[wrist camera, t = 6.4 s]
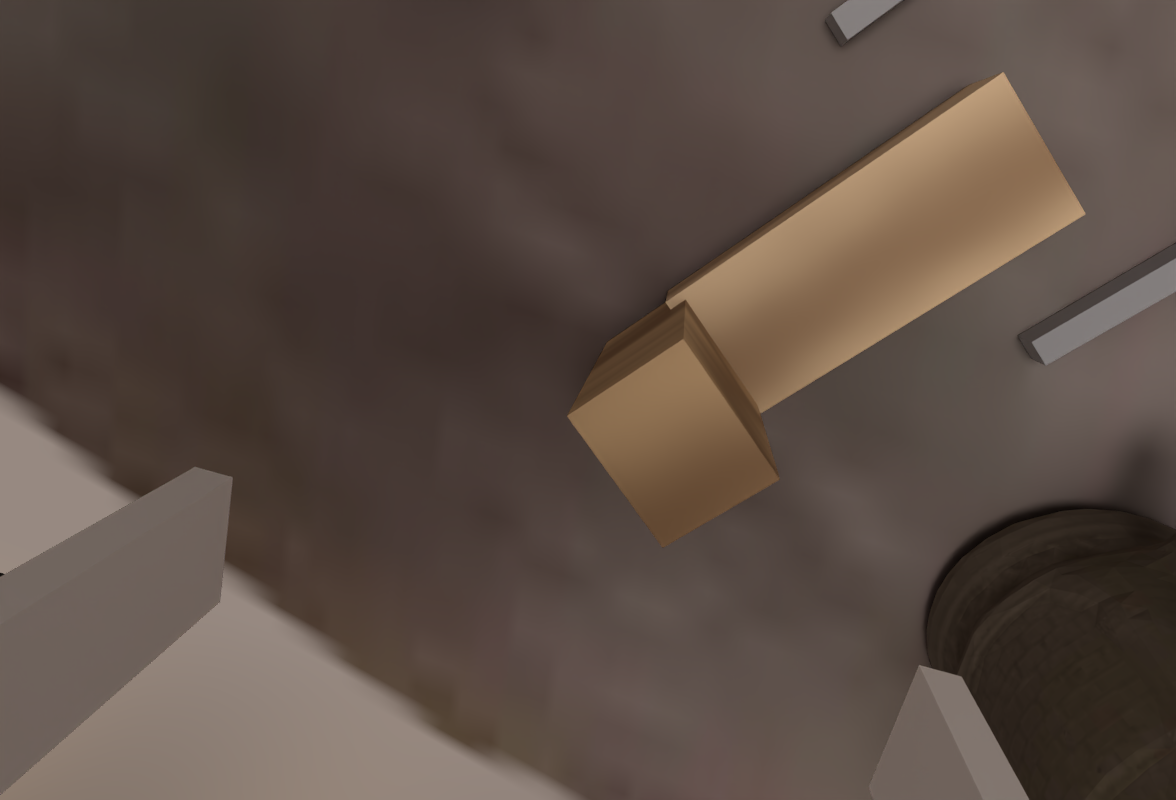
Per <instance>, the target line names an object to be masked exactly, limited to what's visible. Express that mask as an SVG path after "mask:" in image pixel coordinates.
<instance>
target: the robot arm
mask: <svg viewBox="0 0 1176 800" xmlns="http://www.w3.org/2000/svg"><path fill="white" fill-rule="evenodd" d="M232 480H233V477H230V476H226V475H223V474H219V473H215V472H212V471H208V470H204V469H201V468H197V467H194V468H192V469H191V470H189V471H187V472H185V473H183V474H182V475H180V476H178V477H176V478H175V479H173V480H171V481H169V482H167V483H166V484H164V485H162V486H160V487H159V488H157V489H155V490H153V491H152V492H150V493H148V494H146V495H144V496H143V497H141V498H139V499H137V500H136V501H134V502H132V503H130V504H128V505H127V506H125V507H123V508H121V509H120V510H118V511H116V512H114V513H113V514H111V515H109V516H107V517H106V518H104V519H102V520H100V521H98V522H97V523H95V524H93V525H91V526H90V527H88V528H86V529H84V530H83V531H81V532H79V533H77V534H75V535H74V536H72V537H70V538H68V539H66V540H65V541H63V542H61V543H59V544H58V545H56V546H54V547H52V548H50V549H49V550H47V551H45V552H43V553H42V554H40V555H38V556H36V557H35V558H33V559H31V560H29V561H28V562H26V563H24V564H22V565H20V566H19V567H17V568H15V569H13V570H12V571H10V572H8V573H6V574H3V573H0V795H1V794H2V793H3V792H4V791H6V789H8V788H9V787H10V786H11V785H12V784H13V783H15V782H16V781H17V780H18V779H19V778H20V777H21V776H23V775H24V774H25V773H26V772H27V771H28V770H29V769H31V768H32V767H33V766H34V765H35V764H36V763H37V762H39V761H40V760H41V759H42V758H43V757H44V756H45V755H47V753H49V752H50V751H51V750H52V749H53V748H54V747H56V746H57V745H58V744H59V743H60V742H61V741H62V740H64V739H65V738H66V737H67V736H68V735H69V734H70V733H72V732H73V731H74V730H75V729H76V728H77V727H78V726H79V725H81V724H82V723H83V722H84V721H85V720H86V719H87V718H89V717H90V716H91V715H92V714H93V713H94V712H95V711H96V710H98V709H99V708H100V707H101V706H102V705H103V704H104V703H105V702H106V701H108V700H109V699H110V698H111V697H112V696H114V695H115V694H116V693H117V692H118V691H119V690H120V689H121V688H123V687H124V686H125V685H126V684H127V683H128V682H129V681H131V680H132V679H133V678H134V677H135V676H136V675H137V674H139V672H141V671H142V670H143V669H144V668H145V667H146V666H147V665H149V664H150V663H151V662H152V661H153V660H154V659H156V658H157V657H158V656H159V655H160V654H161V653H162V652H164V651H165V650H166V649H167V648H168V647H169V646H170V645H172V644H173V643H174V642H175V641H176V640H177V639H178V638H179V637H181V636H182V635H183V634H184V633H185V632H186V631H187V630H189V629H190V628H191V627H192V626H193V625H194V624H195V623H196V622H197V621H199V620H200V619H201V618H202V617H203V616H204V615H206V614H207V613H208V612H209V611H210V610H211V609H212V608H214V607H215V606H216V605H217V604H218V603H219V602H220V597H221V587H222V578H223V568H224V558H225V548H226V539H227V529H228V519H229V509H230V500H231V490H232ZM869 789H870V792H871V795H872V799H873V800H1029V798H1028V796H1027V795H1026V793H1025V791H1024V789H1023V787H1022V786H1021V784H1020V782H1019V780H1018V778H1017V776H1016V775H1015V773H1014V771H1013V769H1012V767H1011V766H1010V764H1009V762H1008V760H1007V758H1006V756H1005V755H1004V753H1003V751H1002V749H1001V747H1000V746H999V744H998V742H997V740H996V738H995V736H994V735H993V733H992V731H991V729H990V727H989V726H988V724H987V722H986V720H985V718H984V716H983V715H982V713H981V711H980V709H979V707H978V706H977V704H976V702H975V700H974V698H973V697H972V695H971V693H970V691H969V689H968V687H967V686H966V684H965V682H964V680H963V678H962V677H961V676H957V675H954V674H950V673H946V672H943V671H939V670H936V669H932V668H928V667H925V666H921V665H919V666H918V669H917V671H916V674H915V676H914V678H913V681H912V683H911V686H910V688H909V691H908V693H907V695H906V698H905V700H904V703H903V705H902V707H901V710H900V712H899V715H898V717H897V719H896V722H895V724H894V727H893V729H892V731H891V734H890V736H889V739H888V741H887V744H886V746H885V748H884V751H883V753H882V756H881V758H880V760H879V763H878V765H877V768H876V770H875V772H874V775H873V777H872V780H871V782H870V784H869Z"/></svg>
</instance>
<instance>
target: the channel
mask: <svg viewBox="0 0 1176 800" xmlns="http://www.w3.org/2000/svg"><path fill="white" fill-rule="evenodd" d="M902 1H904V0H848V1H846V2H845V3H844V4H842V5H841V6H840V7H838V8H837V9H836V10H834V11H833V12H832V13H831V14H830V15H829V16H828V17H827V19H826V20H825V21H826V23H827V25H828V26H829V28H830V29H831V31H832V33H833V34H834V36H835V38H836V39H837V41H838V43H839V44H840V46H842V45H843V44H845V43H846V42H848V41H849V40H850V39H852V38H853V37H854V36H856V35H857V34H858V33H860V32H861V31H863V30H864V29H865V28H867V27H868V26H869V25H871V24H872V23H873V22H875V21H876V20H878V19H879V18H880V17H882V16H883V15H884V14H886V13H887V12H889V11H890V10H891V9H893V8H894V7H895V6H897V5H898V4H899V3H901V2H902ZM1174 292H1176V243H1175V244H1173V245H1172V246H1170V247H1168V248H1166V249H1165V250H1163V251H1161V252H1160V253H1158V254H1156V255H1155V256H1153V257H1151V258H1149V259H1148V260H1146V261H1144V262H1143V263H1141V264H1139V265H1137V266H1136V267H1134V268H1132V269H1131V270H1129V271H1127V272H1126V273H1124V274H1122V275H1120V276H1119V277H1117V278H1115V279H1114V280H1112V281H1110V282H1108V283H1107V284H1105V285H1103V286H1102V287H1100V288H1098V289H1097V290H1095V291H1093V292H1091V293H1090V294H1088V295H1086V296H1085V297H1083V298H1081V299H1079V300H1078V301H1076V302H1074V303H1073V304H1071V305H1069V306H1068V307H1066V308H1064V309H1062V310H1061V311H1059V312H1057V313H1056V314H1054V315H1052V316H1050V317H1049V318H1047V319H1045V320H1044V321H1042V322H1040V323H1039V324H1037V325H1035V326H1033V327H1032V328H1030V329H1028V330H1027V331H1025V332H1023V333H1021V334H1020V335H1018V337H1019V339H1020V340H1021V342H1022V344H1023V345H1024V347H1025V349H1026V350H1027V352H1028V354H1029V355H1030V357H1031V358H1032V359H1034V360H1036V361H1038V362H1040V363H1042V364H1044V365H1048V364H1049V363H1051V362H1053V361H1055V360H1056V359H1058V358H1060V357H1062V356H1063V355H1065V354H1067V353H1069V352H1070V351H1072V350H1074V349H1076V348H1078V347H1079V346H1081V345H1083V344H1085V343H1086V342H1088V341H1090V340H1092V339H1093V338H1095V337H1097V336H1099V335H1100V334H1102V333H1104V332H1106V331H1107V330H1109V329H1111V328H1113V327H1114V326H1116V325H1118V324H1120V323H1121V322H1123V321H1125V320H1127V319H1128V318H1130V317H1132V316H1134V315H1135V314H1137V313H1139V312H1141V311H1142V310H1144V309H1146V308H1148V307H1149V306H1151V305H1153V304H1155V303H1156V302H1158V301H1160V300H1162V299H1163V298H1165V297H1167V296H1169V295H1170V294H1172V293H1174Z"/></svg>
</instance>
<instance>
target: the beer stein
mask: <svg viewBox="0 0 1176 800" xmlns="http://www.w3.org/2000/svg"><path fill="white" fill-rule="evenodd" d="M926 632H927V650H928V656H929V660H930V663H931V666H932V669H936V670H939V671H943V672H946V673H950V674H954V675H957V676H961V677H962V678H963V680H964V682H965V684H966V686H967V687H968V689H969V691H970V693H971V695H972V697H973V698H974V700H975V702H976V704H977V706H978V707H979V709H980V711H981V713H982V715H983V716H984V718H985V720H986V722H987V724H988V726H989V727H990V729H991V731H992V733H993V735H994V736H995V738H996V740H997V742H998V744H999V746H1000V747H1001V749H1002V751H1003V753H1004V755H1005V756H1006V758H1007V760H1008V762H1009V764H1010V766H1011V767H1012V769H1013V771H1014V773H1015V775H1016V776H1017V778H1018V780H1019V782H1020V784H1021V786H1022V787H1023V789H1024V791H1025V793H1026V795H1027V796H1028V798H1029V800H1176V530H1175V529H1173V528H1171V527H1168V526H1166V525H1164V524H1161V523H1159V522H1157V521H1154V520H1152V519H1149V518H1145V517H1141V516H1137V515H1133V514H1130V513H1126V512H1122V511H1112V510H1098V509H1078V510H1068V511H1060V512H1056V513H1052V514H1048V515H1044V516H1040V517H1036V518H1033V519H1029V520H1025V521H1021V522H1018V523H1015V524H1012V525H1010V526H1008V527H1007V528H1005V529H1003V530H1001V531H999V532H998V533H996V534H994V535H992V536H990V537H988V538H987V539H985V540H984V541H983V542H981V543H980V544H979V545H978V546H976V547H975V548H974V549H972V550H971V551H970V552H969V553H967V554H966V555H965V556H964V557H962V558H961V559H960V561H959V562H958V563H957V564H956V565H955V566H954V567H953V569H952V570H951V571H950V572H949V573H948V575H947V576H946V578H945V579H944V581H943V582H942V584H941V586H940V587H939V589H938V590H937V593H936V596H935V599H934V602H933V604H932V607H931V610H930V614H929V619H928V625H927V631H926Z"/></svg>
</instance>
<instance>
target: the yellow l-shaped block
mask: <svg viewBox="0 0 1176 800" xmlns="http://www.w3.org/2000/svg"><path fill="white" fill-rule="evenodd" d="M1083 215H1085V212H1084V210H1083V209H1082V207H1081V205H1080V203H1079V202H1078V200H1077V198H1076V197H1075V195H1074V193H1073V191H1072V190H1071V188H1070V186H1069V184H1068V183H1067V181H1066V179H1065V178H1064V176H1063V174H1062V172H1061V171H1060V169H1059V167H1058V165H1057V164H1056V162H1055V160H1054V159H1053V157H1052V155H1051V153H1050V152H1049V150H1048V148H1047V146H1046V145H1045V143H1044V141H1043V140H1042V138H1041V136H1040V134H1039V133H1038V131H1037V129H1036V128H1035V126H1034V124H1033V122H1032V121H1031V119H1030V117H1029V115H1028V114H1027V112H1026V110H1025V109H1024V107H1023V105H1022V103H1021V102H1020V100H1019V98H1018V96H1017V95H1016V93H1015V91H1014V90H1013V88H1012V86H1011V84H1010V83H1009V81H1008V79H1007V77H1006V76H1005V74H1004V72H1003V73H1000V74H997V75H994V76H992V77H989V78H986V79H984V80H981V81H978V82H975V83H973V84H970V85H968V86H966V87H965V88H964V89H962V90H961V91H959V92H958V93H956V94H955V95H953V96H952V97H950V98H949V99H947V100H946V101H945V102H943V103H942V104H940V105H939V106H937V107H936V108H934V109H933V110H931V111H930V112H928V113H927V114H926V115H924V116H923V117H921V118H920V119H918V120H917V121H915V122H914V123H912V124H911V125H909V126H908V127H907V128H905V129H904V130H902V131H901V132H899V133H898V134H896V135H895V136H893V137H892V138H890V139H889V140H888V141H886V142H885V143H883V144H882V145H880V146H879V147H877V148H876V149H874V150H873V151H872V152H870V153H869V154H867V155H866V156H864V157H863V158H861V159H860V160H858V161H857V162H855V163H854V164H853V165H851V166H850V167H848V168H847V169H845V170H844V171H842V172H841V173H839V174H838V175H836V176H835V177H834V178H832V179H831V180H829V181H828V182H826V183H825V184H823V185H822V186H820V187H819V188H817V189H816V190H815V191H813V192H812V193H810V194H809V195H807V196H806V197H804V198H803V199H801V200H800V201H798V202H797V203H796V204H794V205H793V206H791V207H790V208H788V209H787V210H785V211H784V212H782V213H781V214H779V215H778V216H777V217H775V218H774V219H772V220H771V221H769V222H768V223H766V224H765V225H763V226H762V227H761V228H759V229H758V230H756V231H755V232H753V233H752V234H750V235H749V236H747V237H746V238H744V239H743V240H742V241H740V242H739V243H737V244H736V245H734V246H733V247H731V248H730V249H728V250H727V251H725V252H724V253H723V254H721V255H720V256H718V257H717V258H715V259H714V260H712V261H711V262H709V263H708V264H706V265H705V266H704V267H702V268H701V269H699V270H698V271H696V272H695V273H693V274H692V275H690V276H689V277H687V278H686V279H685V280H683V281H682V282H680V283H679V284H677V285H676V286H674V287H673V288H671V289H670V290H668V293H667V298H666V302H665V303H664V304H662V305H661V306H659V307H658V308H656V309H655V310H653V311H652V312H650V313H649V314H648V315H646V316H645V317H643V318H642V319H640V320H639V321H637V322H636V323H634V324H633V325H631V326H630V327H628V328H627V329H626V330H624V331H623V332H621V333H620V334H618V335H617V336H615V337H614V338H612V339H611V340H609V341H608V342H607V343H606V345H605V347H604V349H603V351H602V352H601V354H600V356H599V358H598V360H597V362H596V363H595V365H594V367H593V369H592V371H591V373H590V374H589V376H588V378H587V380H586V382H585V384H584V385H583V387H582V389H581V391H580V393H579V395H578V396H577V398H576V400H575V402H574V404H573V406H572V408H571V409H570V411H569V413H568V415H567V417H568V418H569V420H570V421H571V422H572V424H573V425H574V426H575V428H576V429H577V431H578V432H579V433H580V435H581V436H582V437H583V439H584V440H585V442H586V443H587V444H588V446H589V447H590V448H591V450H592V451H593V453H594V454H595V455H596V457H597V458H598V459H599V461H600V462H601V464H602V465H603V466H604V468H605V469H606V470H607V472H608V473H609V475H610V476H611V477H612V479H613V480H614V481H615V483H616V484H617V486H618V487H619V488H620V490H621V491H622V492H623V494H624V495H625V497H626V498H627V499H628V501H629V502H630V504H631V505H632V506H633V508H634V509H635V510H636V512H637V513H638V515H639V516H640V517H641V519H642V520H643V521H644V523H645V524H646V526H647V527H648V528H649V530H650V531H651V532H652V534H653V535H654V537H655V538H656V539H657V541H658V542H659V543H660V545H661V546H662V548H663V547H665V546H667V545H669V544H670V543H672V542H674V541H675V540H677V539H679V538H681V537H682V536H684V535H686V534H687V533H689V532H691V531H693V530H694V529H696V528H698V527H699V526H701V525H703V524H705V523H706V522H708V521H710V520H711V519H713V518H715V517H716V516H718V515H720V514H722V513H723V512H725V511H727V510H728V509H730V508H732V507H734V506H735V505H737V504H739V503H740V502H742V501H744V500H746V499H747V498H749V497H751V496H752V495H754V494H756V493H758V492H759V491H761V490H763V489H764V488H766V487H768V486H770V485H771V484H773V483H775V482H776V481H778V480H780V478H779V475H778V471H777V468H776V465H775V461H774V458H773V455H772V451H771V448H770V445H769V441H768V438H767V435H766V431H765V428H764V425H763V421H762V418H761V415H760V414H761V413H762V412H764V411H766V410H767V409H769V408H771V407H772V406H774V405H775V404H777V403H779V402H780V401H782V400H784V399H785V398H787V397H788V396H790V395H792V394H793V393H795V392H797V391H798V390H800V389H801V388H803V387H805V386H806V385H808V384H810V383H811V382H813V381H814V380H816V379H818V378H819V377H821V376H823V375H824V374H826V373H828V372H829V371H831V370H832V369H834V368H836V367H837V366H839V365H841V364H842V363H844V362H845V361H847V360H849V359H850V358H852V357H854V356H855V355H857V354H858V353H860V352H862V351H863V350H865V349H867V348H868V347H870V346H872V345H873V344H875V343H876V342H878V341H880V340H881V339H883V338H885V337H886V336H888V335H889V334H891V333H893V332H894V331H896V330H898V329H899V328H901V327H902V326H904V325H906V324H907V323H909V322H911V321H912V320H914V319H915V318H917V317H919V316H920V315H922V314H924V313H925V312H927V311H929V310H930V309H932V308H933V307H935V306H937V305H938V304H940V303H942V302H943V301H945V300H946V299H948V298H950V297H951V296H953V295H955V294H956V293H958V292H959V291H961V290H963V289H964V288H966V287H968V286H969V285H971V284H973V283H974V282H976V281H977V280H979V279H981V278H982V277H984V276H986V275H987V274H989V273H990V272H992V271H994V270H995V269H997V268H999V267H1000V266H1002V265H1003V264H1005V263H1007V262H1008V261H1010V260H1012V259H1013V258H1015V257H1017V256H1018V255H1020V254H1021V253H1023V252H1025V251H1026V250H1028V249H1030V248H1031V247H1033V246H1034V245H1036V244H1038V243H1039V242H1041V241H1043V240H1044V239H1046V238H1047V237H1049V236H1051V235H1052V234H1054V233H1056V232H1057V231H1059V230H1060V229H1062V228H1064V227H1065V226H1067V225H1069V224H1070V223H1072V222H1074V221H1075V220H1077V219H1078V218H1080V217H1082V216H1083Z"/></svg>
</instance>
